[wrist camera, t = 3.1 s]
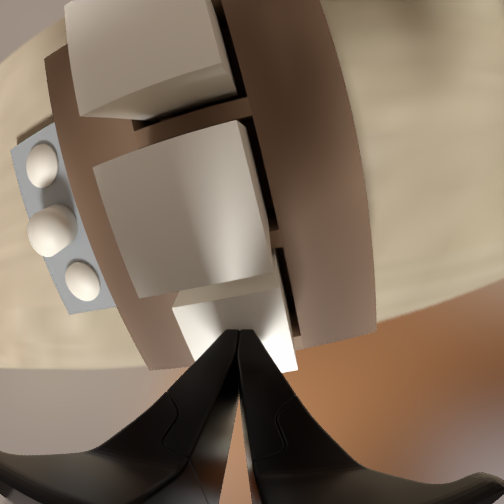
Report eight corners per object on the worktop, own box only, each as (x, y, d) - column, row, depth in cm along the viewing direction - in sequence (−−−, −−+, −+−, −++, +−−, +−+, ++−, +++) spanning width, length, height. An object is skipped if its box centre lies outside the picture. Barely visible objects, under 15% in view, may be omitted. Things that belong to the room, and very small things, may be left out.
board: (295, 5, 10) (306, -31, 7) (354, 291, 15) (376, 331, 11) (86, 69, 11) (44, 58, 8) (167, 327, 16) (149, 370, 13)
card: (73, 115, 12) (46, 115, 10) (132, 298, 15) (117, 321, 13) (16, 148, 12) (-10, 153, 10) (74, 309, 16) (56, 329, 14)
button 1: (218, 19, 8) (190, -51, 4) (238, 95, 10) (221, 63, 5) (136, 47, 9) (63, 6, 4) (153, 121, 10) (79, 116, 5)
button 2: (272, 231, 13) (279, 287, 8) (286, 295, 14) (298, 369, 9) (200, 247, 13) (171, 307, 9) (220, 308, 14) (205, 383, 10)
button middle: (246, 127, 10) (236, 120, 5) (267, 213, 11) (273, 272, 6) (161, 151, 10) (92, 167, 6) (184, 232, 11) (139, 298, 7)
